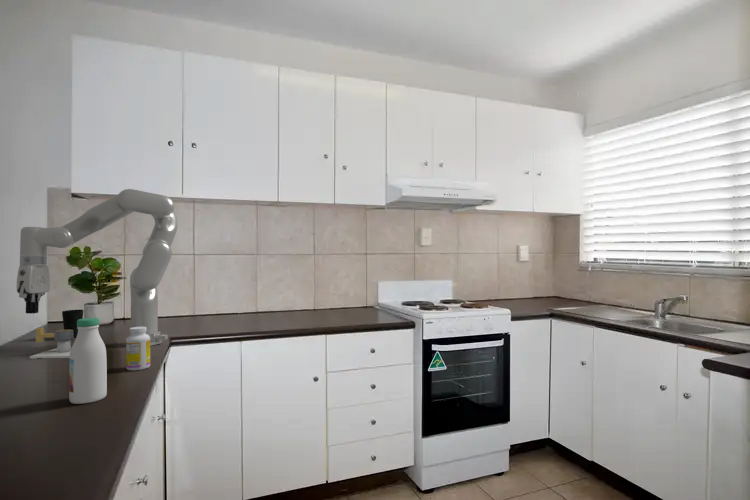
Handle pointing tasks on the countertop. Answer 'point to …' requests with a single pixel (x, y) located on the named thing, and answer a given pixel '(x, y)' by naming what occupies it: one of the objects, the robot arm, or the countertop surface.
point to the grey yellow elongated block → (54, 335)
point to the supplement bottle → (138, 349)
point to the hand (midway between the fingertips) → (32, 313)
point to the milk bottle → (87, 364)
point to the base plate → (56, 351)
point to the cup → (72, 320)
